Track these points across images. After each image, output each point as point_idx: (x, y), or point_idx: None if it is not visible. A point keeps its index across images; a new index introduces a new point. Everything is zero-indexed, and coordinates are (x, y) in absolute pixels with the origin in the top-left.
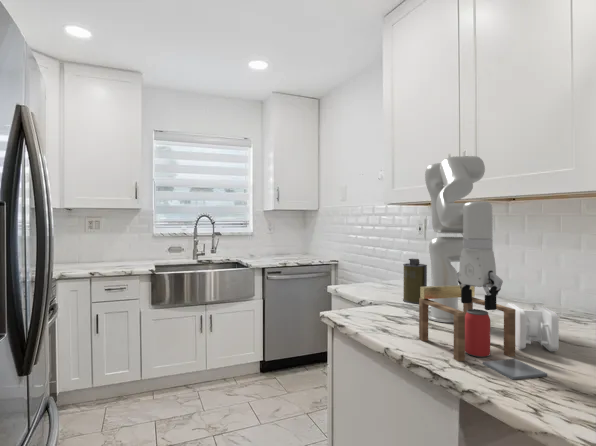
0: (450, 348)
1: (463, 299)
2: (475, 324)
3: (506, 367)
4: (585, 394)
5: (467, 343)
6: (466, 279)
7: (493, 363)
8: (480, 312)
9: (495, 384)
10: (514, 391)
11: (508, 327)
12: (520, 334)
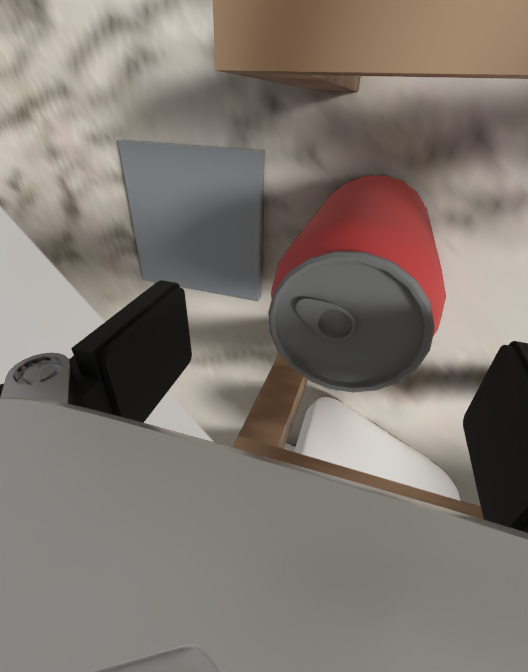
0: (503, 153)
1: (514, 370)
2: (307, 230)
3: (194, 199)
4: (52, 255)
5: (377, 184)
6: (357, 623)
7: (234, 183)
8: (316, 330)
9: (84, 26)
10: (40, 57)
11: (268, 384)
12: (308, 428)
